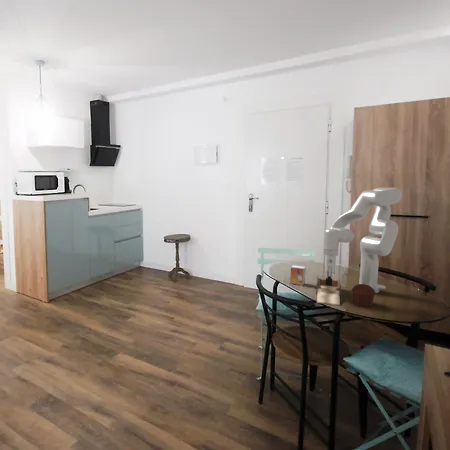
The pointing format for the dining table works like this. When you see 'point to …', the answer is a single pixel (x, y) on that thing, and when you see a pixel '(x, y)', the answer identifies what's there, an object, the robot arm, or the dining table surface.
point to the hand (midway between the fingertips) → (328, 285)
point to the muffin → (363, 295)
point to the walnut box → (328, 285)
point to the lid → (328, 296)
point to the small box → (297, 275)
